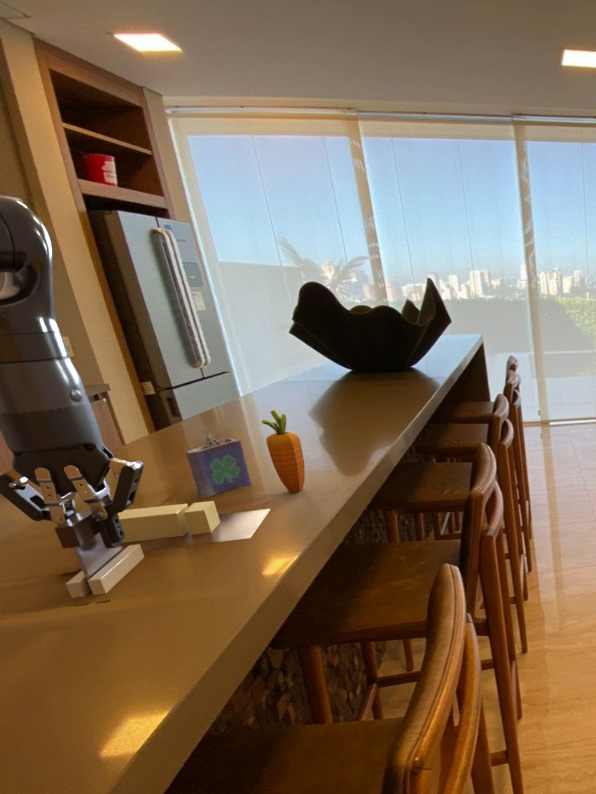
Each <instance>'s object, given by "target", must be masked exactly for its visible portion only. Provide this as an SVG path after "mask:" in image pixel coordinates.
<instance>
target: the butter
mask: <svg viewBox="0 0 596 794" xmlns="http://www.w3.org/2000/svg"><path fill="white" fill-rule="evenodd" d="M188 505H189V504H188V503H179V504H169V505H159V506H151V507H141V508H130V509H125V510H124V511H123V512H120V513H118V515H119V520H120V522H121V525H122V528H123V530H124V533H125V536H124V539H122V541H121V543H127V542H136V541H144V540H153V539H162V538H170V537H179V536H184V535H185V534H186V533H187V532H188V531H189V528H188V525H187V522H186V518H185V515H184V512H185V511H186V510H187V509H188V508H189V506H188Z"/></svg>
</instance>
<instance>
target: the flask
mask: <svg viewBox="0 0 596 794" xmlns="http://www.w3.org/2000/svg"><path fill="white" fill-rule="evenodd" d="M201 438H202V439H205V442H204V444H206V445H203V446H199V447H197V448H196V447H195V448H192V449H190V450H188V451H186V452H185V455H186V458H187V460H188V464H189V467H190V471H191V474H192V478H193V480H194V483H195V487H196V490H197V494H198V498H209V497H213V496H215V495H218V494H220V493H222V492H225V491H227V490H230V489H233V488H234V489H235V488H242V487H243V488H245V487H252V486H253V485H252V481H251V478H250V473H249V469H248V464H247V461H246V457H245V453H244V449H243V447H242V446H243V445H242V441H241V440H240V439H239V438H221V439H215V436H214V435H213V434H210V433H207V434H205V435H203V436H201Z"/></svg>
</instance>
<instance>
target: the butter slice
mask: <svg viewBox="0 0 596 794" xmlns="http://www.w3.org/2000/svg"><path fill="white" fill-rule="evenodd" d="M218 514H219V513H218V510H217V507H216V504H215V501H214V500H210V501H208V500H207V501H199V502H194V503H191V505H190V506H188V509H187V510H186V511H185V512H184V515H185V518H186V522H187V525H188V528H189V531H190V534H191V535H196V534H205V533H212V531H213V530H214V529H215V528H216V527H217V526H218V525H219V524H220V520H219V516H218Z"/></svg>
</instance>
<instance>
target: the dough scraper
mask: <svg viewBox="0 0 596 794" xmlns="http://www.w3.org/2000/svg"><path fill="white" fill-rule="evenodd" d="M118 517H119V515H118ZM96 520H97V518H96V517H95V516H94V514H93V512H92V510H91V509H90V507H89V505H88V506H86V507H85V508H83V509H82V510H80V511H79V512H77V514H76V515H74V516H73V517H71V518H69V519H68V520H66V521H65V522H63V523H62V524H60V525H57V526H56V527H54V531H55V533H56V536H57V539H58V540H59V542H60V545H61V547H62V549H73V551H74V554H75V556H76V559H77V561H78V563H79V565H80V568H81V571H82V570H83V573H84V575H85V578H86V580H87V582H88V580H89V579H91V578H92V577H93V576H94V575H95V574H96V573H97V572H99V571H100V570H101V569H102V568H103V567H104V566H106V565H107V564H108V563H109V562H110V561H111V560H113V559H114V558H115V557H116V556H117V555H118V554H120V553H121V552H122V551H123V548H122V545H121V543H120V544H119V545H118V546H117V547H115V548H108V549H107V548H106V547H105V545H104V542H103V540H102V537H101V534H100V532H99V529H98V527H97V524H96V522H95V521H96ZM72 547H73V548H72ZM88 585H89V583H88ZM89 587H90V585H89ZM90 589H91V588H90ZM90 592H91V593H92V590H91V591H90Z"/></svg>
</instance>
